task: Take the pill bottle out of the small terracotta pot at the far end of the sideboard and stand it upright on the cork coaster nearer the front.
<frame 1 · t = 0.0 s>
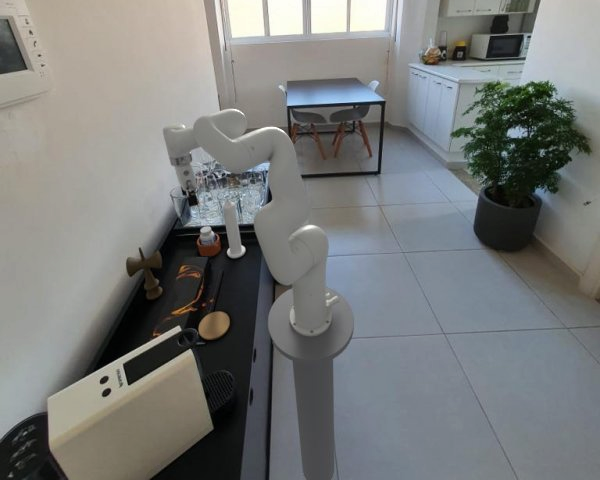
hand: (190, 199, 118), 21 cm above the table, tool pointing down, fingers open, 9 cm apart
kendama: (155, 295, 104), on the table
pot: (210, 249, 123), on the table
coaster: (214, 325, 92), on the table
pill bottle: (210, 249, 123), resting on pot
candle: (236, 252, 121), on the table
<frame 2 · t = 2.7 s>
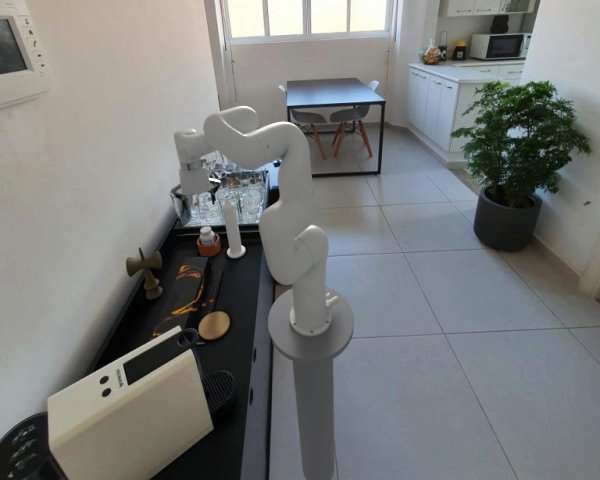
hand: (200, 205, 115), 21 cm above the table, tool pointing down, fingers open, 9 cm apart
nothing on the table moved.
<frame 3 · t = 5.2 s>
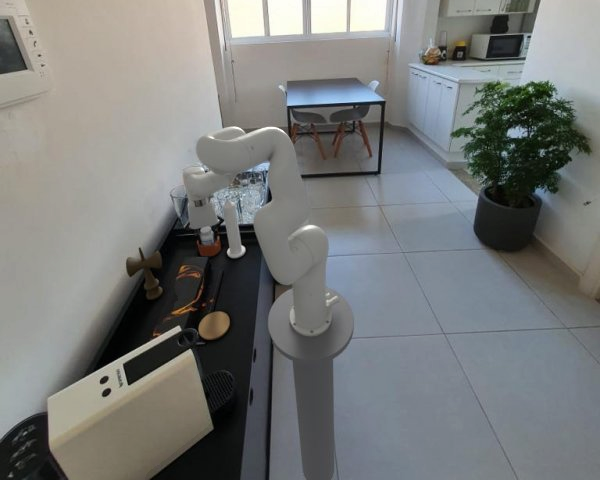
hand: (207, 238, 121), 5 cm above the table, tool pointing down, fingers closed on pill bottle, 5 cm apart
pill bottle: (210, 249, 123), resting on pot, touching gripper
everything else where it was.
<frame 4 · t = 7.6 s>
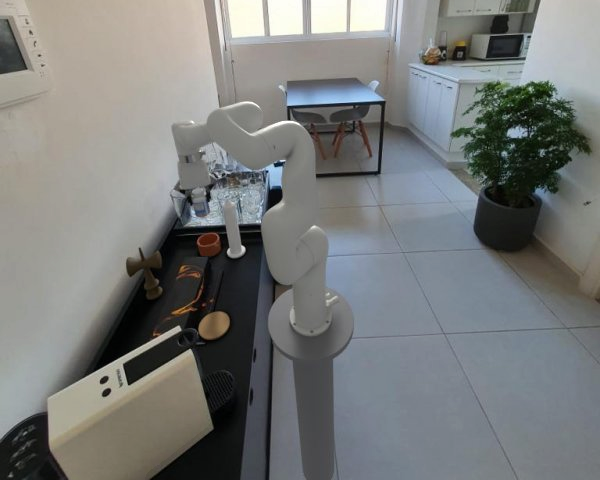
hand: (200, 201, 112), 23 cm above the table, tool pointing down, fingers closed on pill bottle, 5 cm apart
pill bottle: (203, 214, 115), point 18 cm above the table, touching gripper
everything else where it was.
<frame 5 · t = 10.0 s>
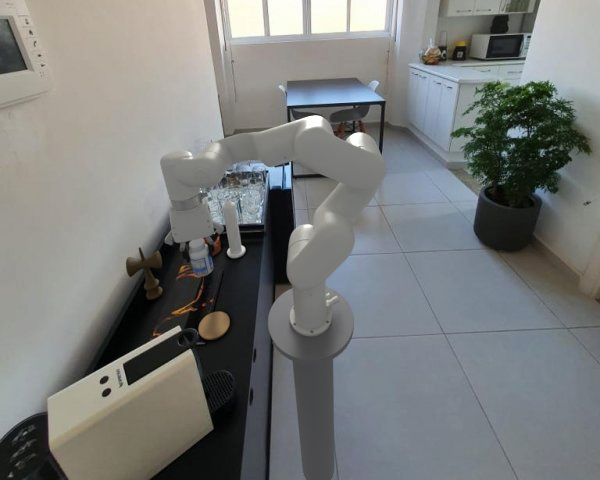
hand: (200, 255, 84), 24 cm above the table, tool pointing down, fingers closed on pill bottle, 5 cm apart
pill bottle: (203, 270, 87), point 19 cm above the table, touching gripper
everything else where it was.
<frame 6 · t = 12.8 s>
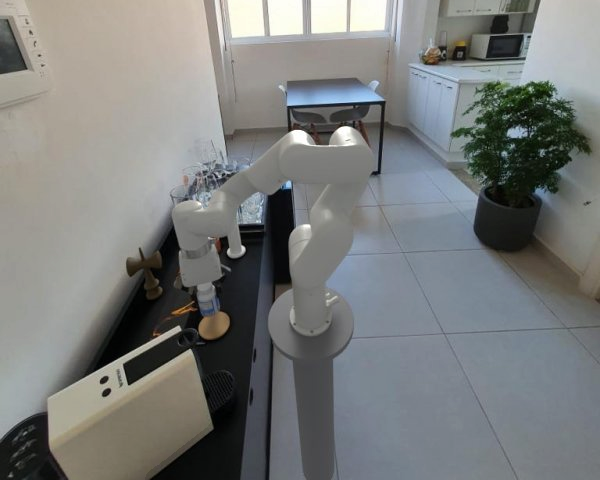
hand: (207, 297, 87), 12 cm above the table, tool pointing down, fingers closed on pill bottle, 5 cm apart
pill bottle: (210, 310, 89), point 6 cm above the table, touching gripper
everything else where it was.
when the fingers open (6 cm above the table, at t = 14.7 s): pill bottle stays where it is, resting on coaster.
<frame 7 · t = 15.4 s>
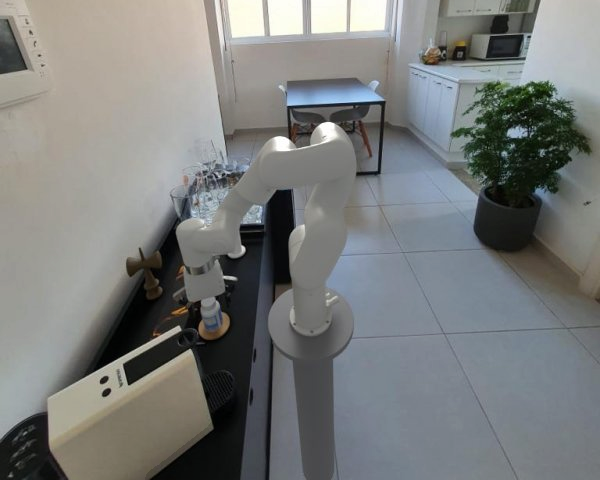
hand: (211, 308, 89), 7 cm above the table, tool pointing down, fingers open, 9 cm apart
pill bottle: (214, 324, 92), resting on coaster
everything else where it was.
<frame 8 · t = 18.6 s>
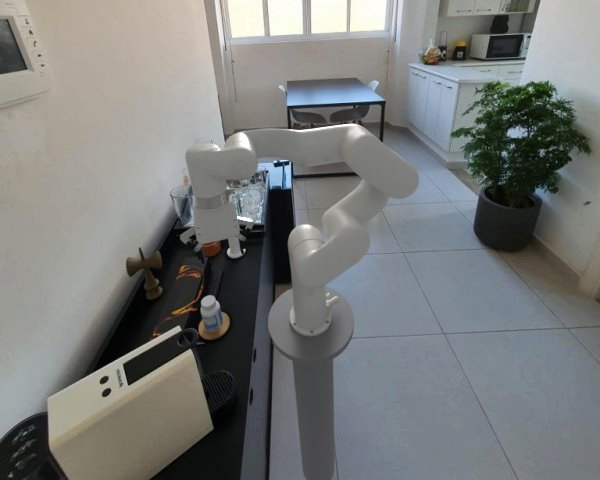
hand: (223, 255, 78), 28 cm above the table, tool pointing down, fingers open, 9 cm apart
nothing on the table moved.
at the end: pill bottle 0.0 cm off-centre on the coaster, point 0.4 cm above the coaster's base; pill bottle tilted 0°; the gripper is holding nothing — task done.
